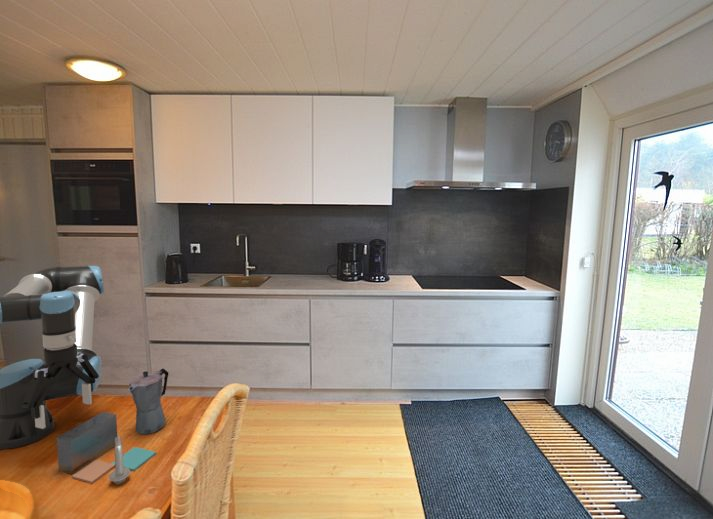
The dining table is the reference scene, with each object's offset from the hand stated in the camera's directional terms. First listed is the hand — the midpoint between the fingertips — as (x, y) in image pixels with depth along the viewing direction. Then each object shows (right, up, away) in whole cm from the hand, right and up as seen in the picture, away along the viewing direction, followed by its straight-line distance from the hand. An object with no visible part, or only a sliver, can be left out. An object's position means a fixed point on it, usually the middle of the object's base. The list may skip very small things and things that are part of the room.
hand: (65, 414), depth 109 cm
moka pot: (+17, -11, +15) cm, 25 cm away
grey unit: (+8, -12, -1) cm, 14 cm away
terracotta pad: (+13, -13, -7) cm, 20 cm away
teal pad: (+21, -13, -1) cm, 25 cm away
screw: (+22, -14, -10) cm, 28 cm away
